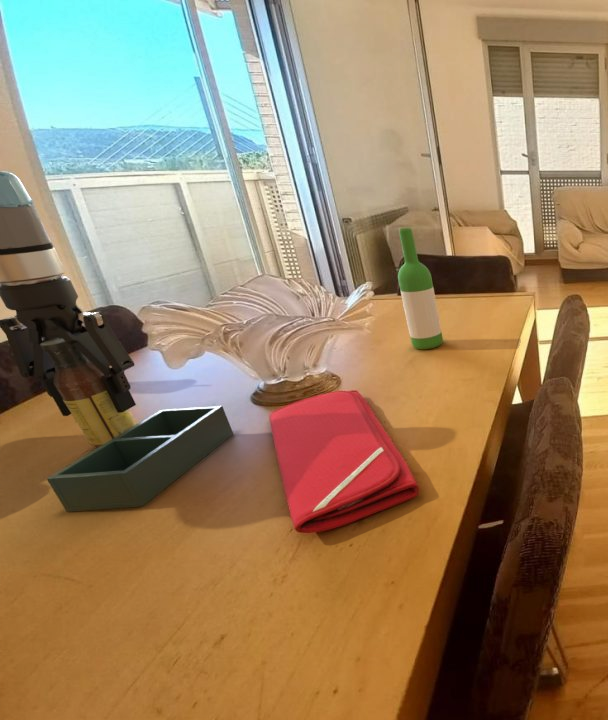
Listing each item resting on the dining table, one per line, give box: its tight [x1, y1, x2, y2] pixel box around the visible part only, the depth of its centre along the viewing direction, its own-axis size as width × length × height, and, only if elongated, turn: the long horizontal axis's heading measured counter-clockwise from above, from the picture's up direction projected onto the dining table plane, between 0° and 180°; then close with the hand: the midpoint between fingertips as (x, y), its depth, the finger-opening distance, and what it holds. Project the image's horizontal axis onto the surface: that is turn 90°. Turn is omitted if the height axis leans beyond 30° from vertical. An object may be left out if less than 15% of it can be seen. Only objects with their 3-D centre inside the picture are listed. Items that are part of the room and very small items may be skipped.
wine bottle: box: [397, 227, 444, 351], centre depth 119 cm, size 8×8×30 cm
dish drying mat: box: [268, 389, 420, 534], centre depth 78 cm, size 16×41×4 cm, turn 38°
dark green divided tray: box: [46, 405, 234, 513], centre depth 75 cm, size 10×20×6 cm, turn 5°
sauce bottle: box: [40, 338, 138, 450], centre depth 80 cm, size 7×6×20 cm
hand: (100, 410), depth 81 cm, fingers open, 8 cm apart
